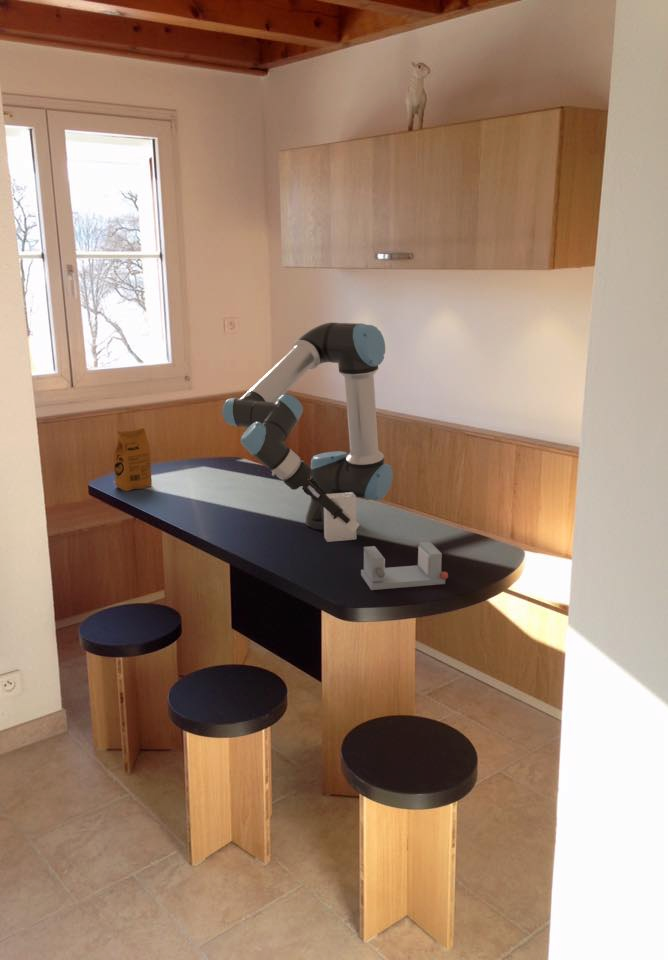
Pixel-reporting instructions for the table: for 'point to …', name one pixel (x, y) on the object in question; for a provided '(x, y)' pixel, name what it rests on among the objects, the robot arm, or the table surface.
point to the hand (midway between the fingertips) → (354, 525)
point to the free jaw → (374, 564)
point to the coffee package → (132, 460)
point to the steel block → (335, 527)
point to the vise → (413, 571)
